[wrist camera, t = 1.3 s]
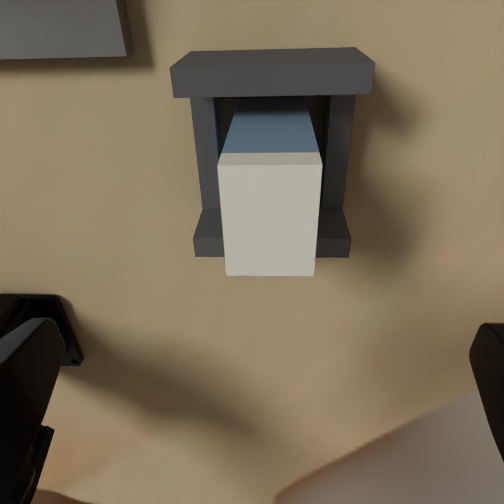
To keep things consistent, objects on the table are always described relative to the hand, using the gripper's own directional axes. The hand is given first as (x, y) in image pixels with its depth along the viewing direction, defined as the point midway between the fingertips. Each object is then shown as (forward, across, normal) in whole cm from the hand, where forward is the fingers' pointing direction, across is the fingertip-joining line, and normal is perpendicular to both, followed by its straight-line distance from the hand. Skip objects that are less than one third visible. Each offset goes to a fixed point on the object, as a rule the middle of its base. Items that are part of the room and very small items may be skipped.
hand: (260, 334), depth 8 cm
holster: (+13, 0, 0) cm, 13 cm away
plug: (+13, 0, 0) cm, 13 cm away
